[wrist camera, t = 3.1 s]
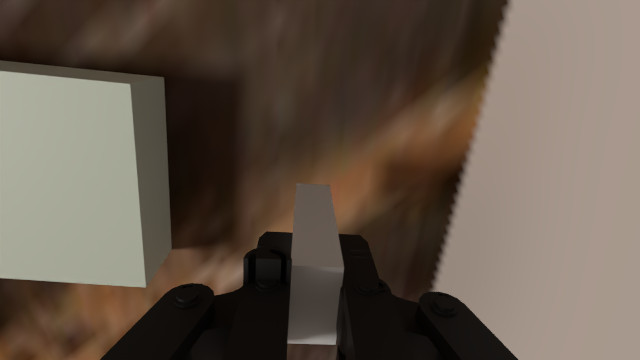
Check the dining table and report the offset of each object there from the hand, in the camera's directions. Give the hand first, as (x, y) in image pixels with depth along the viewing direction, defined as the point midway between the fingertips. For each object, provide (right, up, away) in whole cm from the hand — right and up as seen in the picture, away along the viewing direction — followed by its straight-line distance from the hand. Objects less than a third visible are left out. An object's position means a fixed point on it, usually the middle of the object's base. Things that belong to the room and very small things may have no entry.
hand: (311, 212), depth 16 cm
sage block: (-14, +3, +3) cm, 15 cm away
